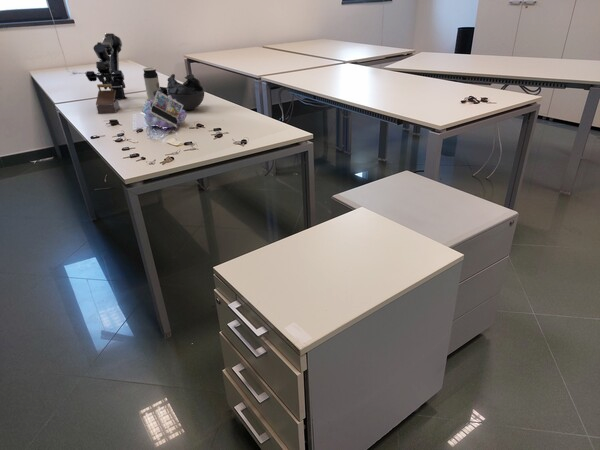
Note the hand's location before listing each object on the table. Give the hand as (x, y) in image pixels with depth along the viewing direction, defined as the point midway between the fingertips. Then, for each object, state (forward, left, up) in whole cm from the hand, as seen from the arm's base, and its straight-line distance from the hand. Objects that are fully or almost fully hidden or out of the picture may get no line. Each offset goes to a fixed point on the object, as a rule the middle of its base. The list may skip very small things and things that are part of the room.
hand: (105, 89), depth 229 cm
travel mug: (-29, -2, -11) cm, 32 cm away
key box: (+1, +2, -11) cm, 11 cm away
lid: (+1, +2, -4) cm, 5 cm away
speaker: (-24, +15, -11) cm, 31 cm away
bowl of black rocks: (-29, +33, -11) cm, 46 cm away
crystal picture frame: (-4, +51, -11) cm, 52 cm away
